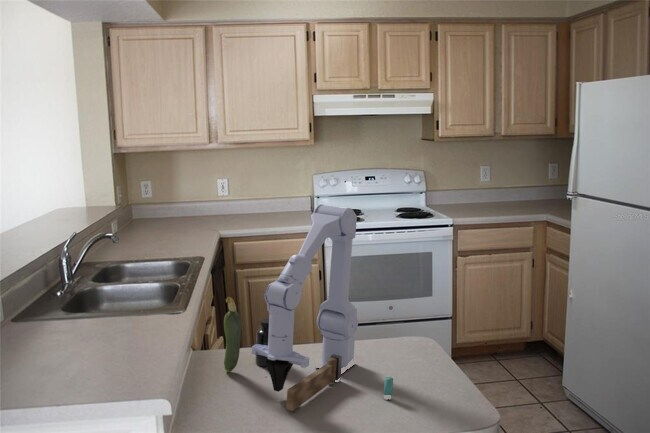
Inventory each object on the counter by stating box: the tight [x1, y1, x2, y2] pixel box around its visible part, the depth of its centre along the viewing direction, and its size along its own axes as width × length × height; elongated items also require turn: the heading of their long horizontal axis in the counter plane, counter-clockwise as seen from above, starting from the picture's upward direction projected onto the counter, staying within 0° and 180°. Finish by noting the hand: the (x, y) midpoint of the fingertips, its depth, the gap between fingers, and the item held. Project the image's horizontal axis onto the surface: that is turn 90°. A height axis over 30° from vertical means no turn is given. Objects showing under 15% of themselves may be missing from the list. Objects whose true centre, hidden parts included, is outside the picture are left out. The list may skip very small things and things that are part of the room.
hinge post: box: [330, 354, 342, 380], centre depth 147 cm, size 2×2×6 cm
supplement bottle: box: [254, 317, 269, 369], centre depth 156 cm, size 7×7×12 cm
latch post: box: [383, 376, 394, 396], centre depth 139 cm, size 2×2×5 cm
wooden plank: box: [285, 358, 337, 412], centre depth 137 cm, size 21×2×6 cm, turn 152°
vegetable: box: [223, 296, 242, 373], centre depth 148 cm, size 4×4×20 cm
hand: (278, 389), depth 136 cm, fingers closed
